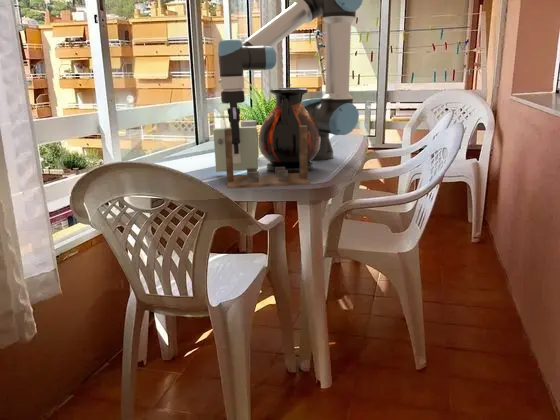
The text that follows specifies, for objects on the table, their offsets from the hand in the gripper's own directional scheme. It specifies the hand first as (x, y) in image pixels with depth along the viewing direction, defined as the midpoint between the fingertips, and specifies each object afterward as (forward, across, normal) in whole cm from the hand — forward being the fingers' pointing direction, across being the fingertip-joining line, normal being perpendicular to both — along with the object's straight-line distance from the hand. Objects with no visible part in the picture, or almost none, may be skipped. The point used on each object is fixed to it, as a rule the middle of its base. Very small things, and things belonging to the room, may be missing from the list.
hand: (236, 161), depth 165 cm
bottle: (+5, -31, +7) cm, 32 cm away
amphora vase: (+5, -5, +19) cm, 20 cm away
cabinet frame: (+5, +14, +9) cm, 17 cm away
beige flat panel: (+3, 0, 0) cm, 3 cm away
